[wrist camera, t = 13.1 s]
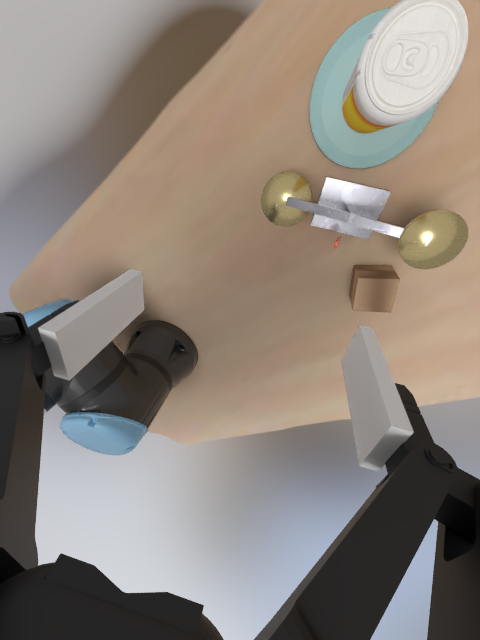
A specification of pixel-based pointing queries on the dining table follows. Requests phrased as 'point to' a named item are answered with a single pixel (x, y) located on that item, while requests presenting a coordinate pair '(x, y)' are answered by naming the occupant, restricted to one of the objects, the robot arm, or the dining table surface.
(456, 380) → the dining table surface
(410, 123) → the dish
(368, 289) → the walnut block
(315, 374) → the dining table surface
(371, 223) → the balance
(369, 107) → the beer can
